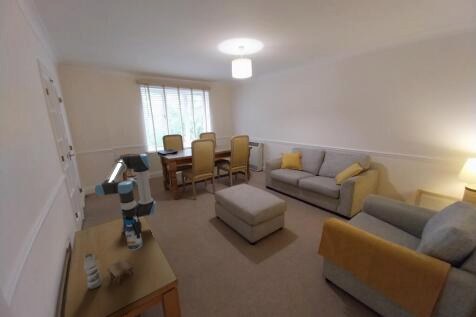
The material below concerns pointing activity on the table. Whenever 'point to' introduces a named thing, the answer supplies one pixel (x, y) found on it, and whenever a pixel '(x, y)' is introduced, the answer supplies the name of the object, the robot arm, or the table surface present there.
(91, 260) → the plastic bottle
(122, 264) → the brown piece
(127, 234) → the blue lidded jar
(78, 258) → the table surface
